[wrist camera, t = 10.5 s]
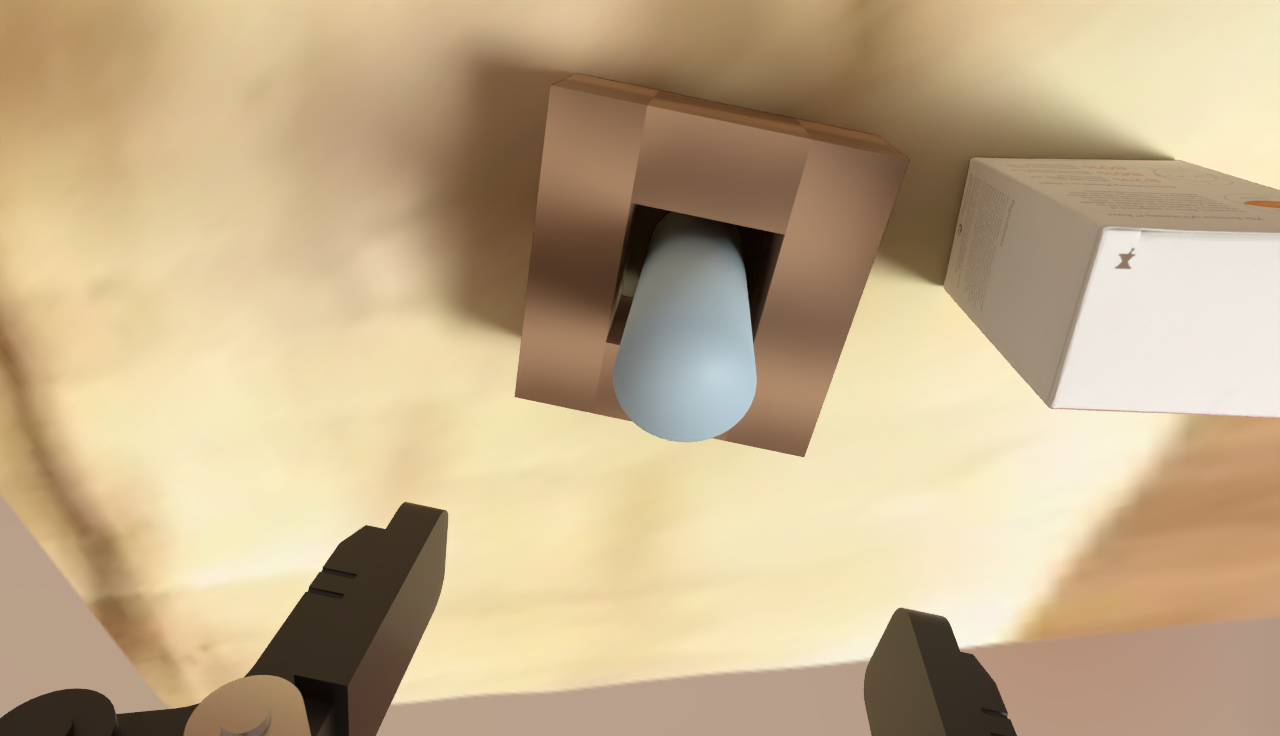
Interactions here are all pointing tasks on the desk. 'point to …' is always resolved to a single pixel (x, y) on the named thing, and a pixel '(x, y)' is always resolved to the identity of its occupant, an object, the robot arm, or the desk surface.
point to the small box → (1125, 282)
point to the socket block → (714, 189)
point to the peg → (688, 333)
